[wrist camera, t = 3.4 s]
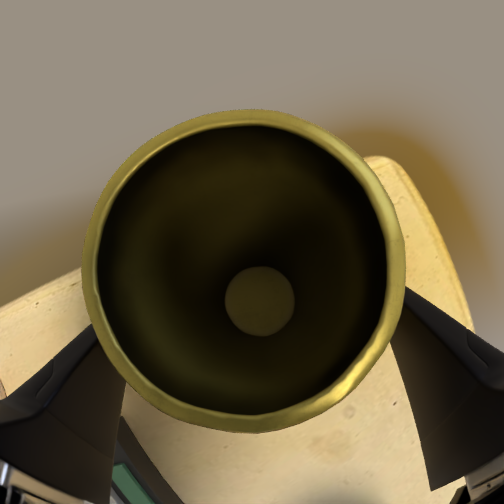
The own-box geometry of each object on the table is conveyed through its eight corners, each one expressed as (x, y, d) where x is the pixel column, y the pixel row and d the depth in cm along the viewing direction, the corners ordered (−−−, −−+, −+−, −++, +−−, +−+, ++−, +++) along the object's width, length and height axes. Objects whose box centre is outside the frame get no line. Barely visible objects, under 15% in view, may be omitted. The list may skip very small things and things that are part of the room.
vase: (264, 368, 17) (253, 516, 3) (193, 304, 18) (18, 267, 4) (327, 295, 18) (481, 234, 4) (255, 235, 19) (226, 52, 5)
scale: (206, 527, 14) (199, 548, 11) (96, 534, 13) (83, 547, 10) (122, 415, 16) (102, 428, 14) (30, 442, 16) (11, 449, 13)
